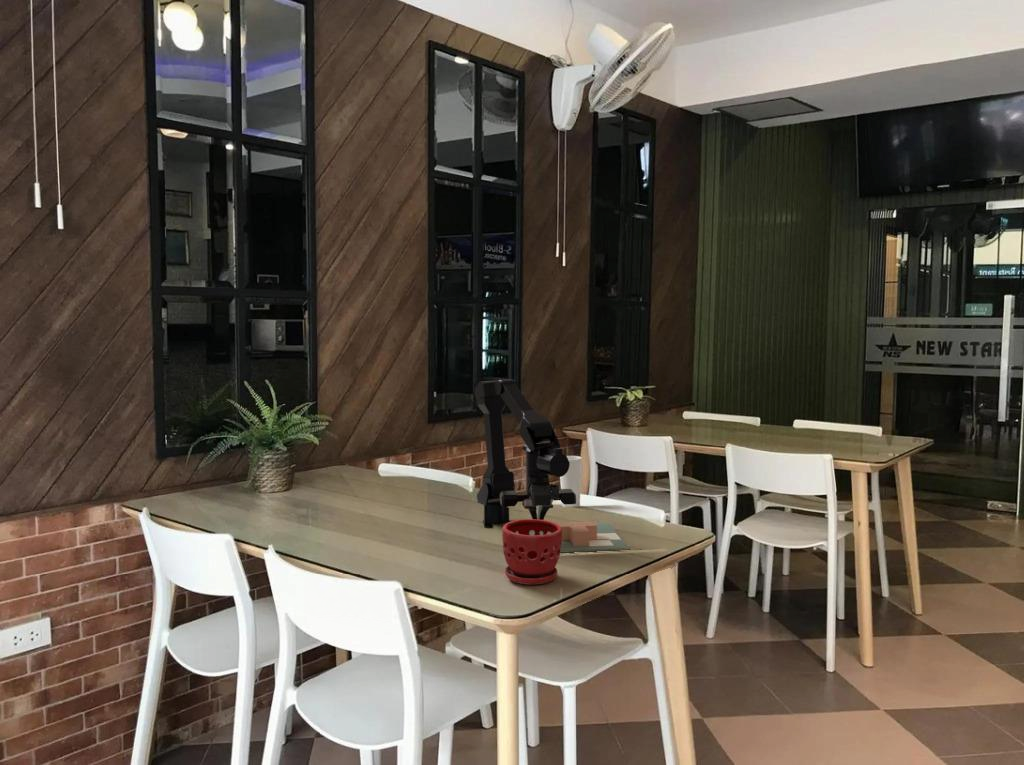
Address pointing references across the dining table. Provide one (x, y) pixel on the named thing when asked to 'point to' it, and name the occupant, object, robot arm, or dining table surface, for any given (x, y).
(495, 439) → the robot arm
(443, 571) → the dining table surface
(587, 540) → the salmon notched block
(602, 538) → the board
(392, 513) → the dining table surface
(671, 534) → the dining table surface
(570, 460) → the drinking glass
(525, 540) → the plant pot
